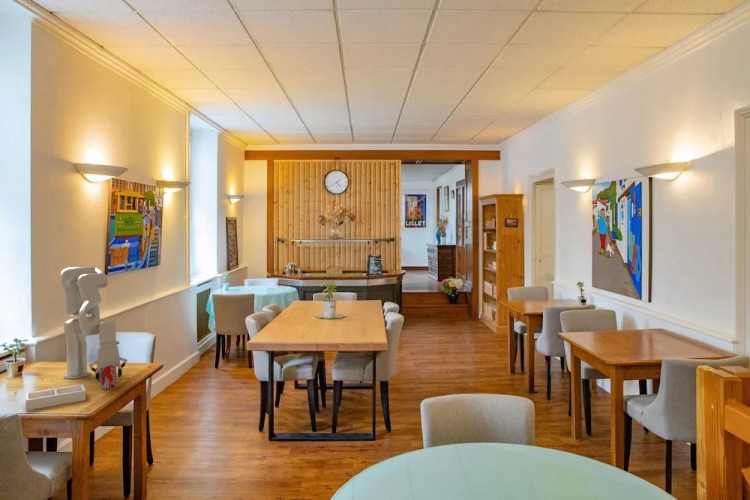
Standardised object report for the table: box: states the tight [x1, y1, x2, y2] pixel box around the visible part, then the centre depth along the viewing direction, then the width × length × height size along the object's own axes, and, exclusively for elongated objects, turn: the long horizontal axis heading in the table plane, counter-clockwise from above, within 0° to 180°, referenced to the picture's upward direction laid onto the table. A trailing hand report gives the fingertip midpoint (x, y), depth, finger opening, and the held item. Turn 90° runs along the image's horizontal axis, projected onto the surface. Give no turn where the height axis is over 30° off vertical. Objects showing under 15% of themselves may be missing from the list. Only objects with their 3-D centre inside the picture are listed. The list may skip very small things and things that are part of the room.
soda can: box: [100, 365, 117, 390], centre depth 251 cm, size 7×7×12 cm
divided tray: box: [25, 383, 87, 411], centre depth 231 cm, size 12×23×4 cm, turn 126°
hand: (108, 378), depth 251 cm, fingers open, 9 cm apart
